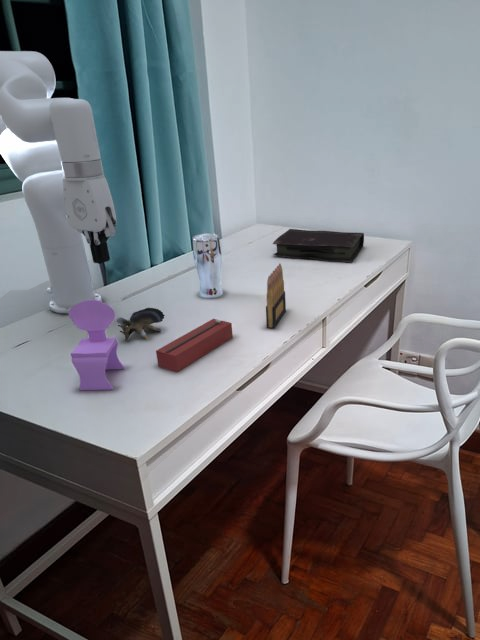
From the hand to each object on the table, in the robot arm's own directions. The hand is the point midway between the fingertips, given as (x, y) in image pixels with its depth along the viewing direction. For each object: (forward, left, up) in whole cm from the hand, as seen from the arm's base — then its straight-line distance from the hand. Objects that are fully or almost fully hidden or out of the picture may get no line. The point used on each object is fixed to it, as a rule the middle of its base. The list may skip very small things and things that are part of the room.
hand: (101, 261), depth 115 cm
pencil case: (+24, 0, -16) cm, 29 cm away
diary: (+12, +74, -16) cm, 77 cm away
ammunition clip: (+29, +22, -16) cm, 40 cm away
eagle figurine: (+8, 0, -16) cm, 18 cm away
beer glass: (+5, +28, -16) cm, 33 cm away
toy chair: (+16, -18, -16) cm, 29 cm away
